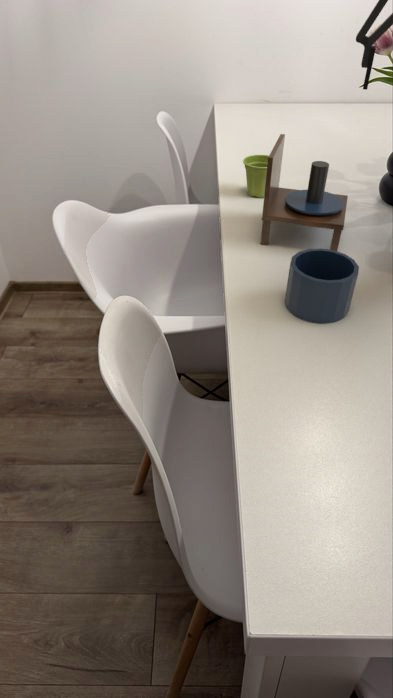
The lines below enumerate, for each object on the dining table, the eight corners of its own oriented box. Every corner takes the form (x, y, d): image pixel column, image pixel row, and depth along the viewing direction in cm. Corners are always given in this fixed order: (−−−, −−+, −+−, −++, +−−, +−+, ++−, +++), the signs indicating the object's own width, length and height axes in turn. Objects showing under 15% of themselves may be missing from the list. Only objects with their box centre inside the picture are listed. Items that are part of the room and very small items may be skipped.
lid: (344, 197, 110) (352, 157, 104) (340, 221, 101) (350, 178, 95) (288, 191, 113) (294, 151, 107) (280, 213, 103) (286, 171, 97)
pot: (349, 293, 93) (359, 253, 87) (346, 328, 84) (357, 287, 79) (289, 283, 95) (295, 244, 90) (280, 317, 87) (286, 276, 81)
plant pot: (251, 203, 124) (254, 169, 119) (234, 189, 131) (236, 157, 125) (282, 197, 127) (287, 164, 122) (264, 184, 134) (267, 152, 128)
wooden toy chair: (341, 223, 115) (359, 141, 103) (337, 255, 104) (356, 166, 91) (271, 214, 119) (280, 133, 107) (259, 244, 107) (268, 157, 95)
